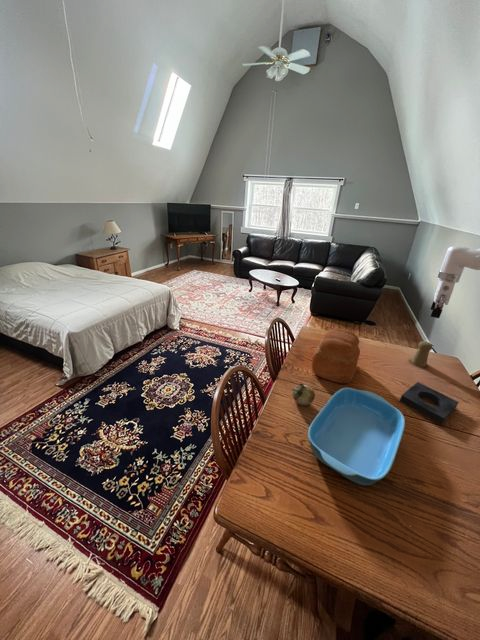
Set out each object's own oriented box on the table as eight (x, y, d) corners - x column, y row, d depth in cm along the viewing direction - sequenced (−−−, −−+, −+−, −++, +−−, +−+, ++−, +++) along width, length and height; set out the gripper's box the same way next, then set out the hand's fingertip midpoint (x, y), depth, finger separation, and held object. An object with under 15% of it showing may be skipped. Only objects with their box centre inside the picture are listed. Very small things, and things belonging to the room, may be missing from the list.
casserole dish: (374, 514, 64) (382, 496, 61) (292, 459, 77) (296, 441, 74) (404, 424, 91) (411, 408, 87) (340, 394, 103) (344, 379, 100)
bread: (307, 374, 114) (313, 340, 106) (320, 351, 131) (326, 320, 124) (350, 389, 106) (360, 353, 99) (357, 363, 123) (366, 330, 116)
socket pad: (455, 408, 99) (458, 402, 98) (441, 425, 91) (444, 418, 90) (415, 387, 109) (417, 381, 108) (399, 401, 101) (401, 395, 100)
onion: (307, 412, 94) (310, 394, 90) (287, 401, 98) (290, 384, 95) (316, 401, 99) (320, 384, 96) (297, 391, 104) (300, 374, 100)
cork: (424, 368, 122) (433, 347, 117) (409, 362, 125) (417, 342, 121) (427, 363, 126) (435, 342, 121) (412, 357, 129) (420, 338, 125)
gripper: (461, 283, 105) (445, 322, 112) (457, 274, 118) (443, 309, 125) (438, 279, 108) (424, 317, 115) (437, 271, 121) (424, 305, 129)
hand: (434, 313), depth 120 cm, fingers open, 9 cm apart
